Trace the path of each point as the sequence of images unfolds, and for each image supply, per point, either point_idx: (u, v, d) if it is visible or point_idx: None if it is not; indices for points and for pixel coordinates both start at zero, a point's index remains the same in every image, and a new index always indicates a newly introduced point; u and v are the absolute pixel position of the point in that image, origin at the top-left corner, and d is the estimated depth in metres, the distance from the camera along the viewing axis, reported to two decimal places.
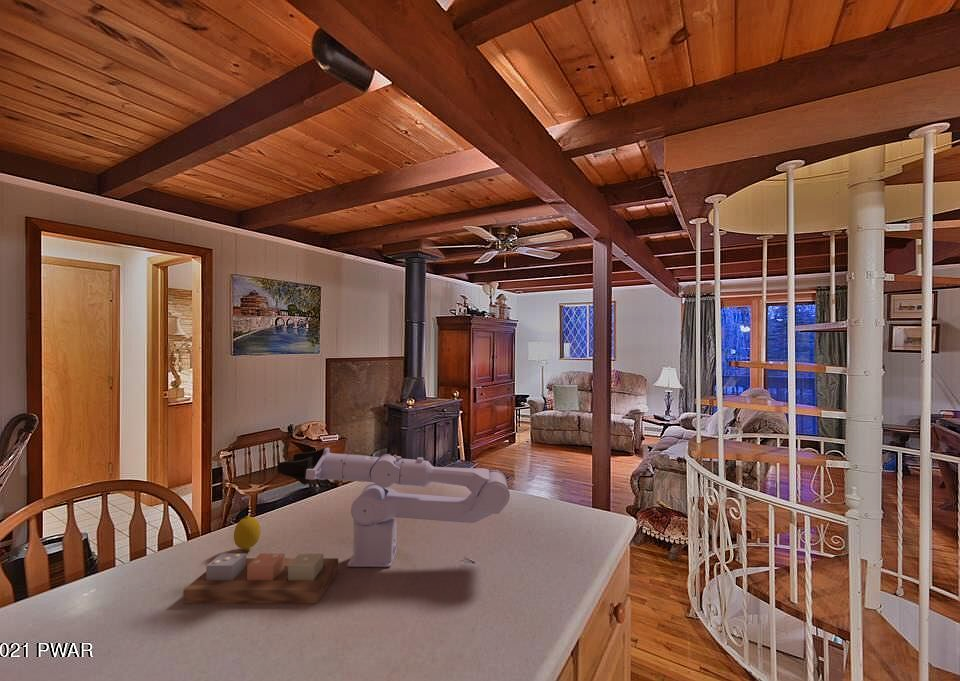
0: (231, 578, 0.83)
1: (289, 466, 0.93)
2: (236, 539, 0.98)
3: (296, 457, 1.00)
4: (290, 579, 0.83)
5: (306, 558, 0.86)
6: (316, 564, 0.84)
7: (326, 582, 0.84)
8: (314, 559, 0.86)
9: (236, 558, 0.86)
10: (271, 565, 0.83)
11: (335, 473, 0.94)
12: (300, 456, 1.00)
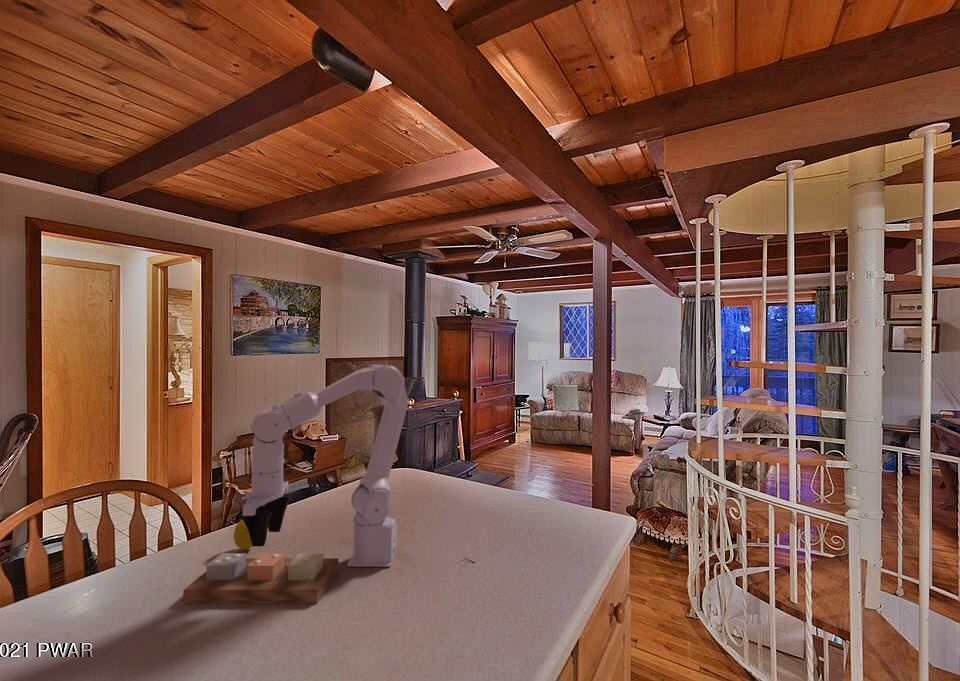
0: (231, 578, 0.83)
1: (254, 533, 0.82)
2: (236, 539, 0.98)
3: (271, 528, 0.89)
4: (290, 579, 0.83)
5: (306, 558, 0.86)
6: (316, 564, 0.84)
7: (326, 582, 0.84)
8: (314, 559, 0.86)
9: (236, 558, 0.86)
10: (271, 565, 0.83)
11: (264, 481, 0.83)
12: (270, 524, 0.89)
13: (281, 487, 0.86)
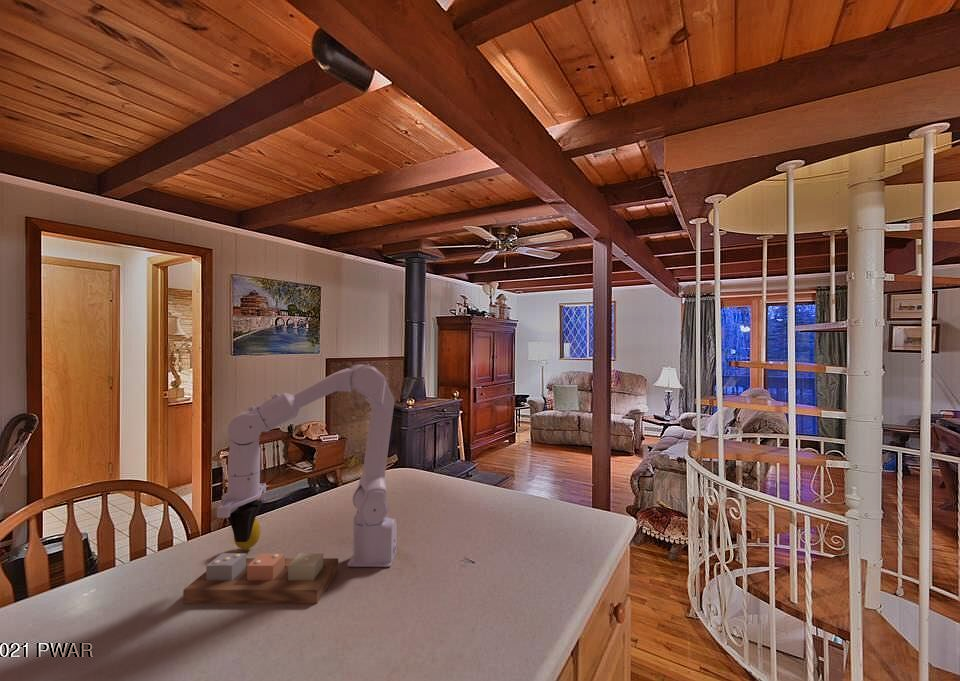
0: (231, 578, 0.83)
1: (237, 529, 0.85)
2: None
3: None
4: (290, 579, 0.83)
5: (306, 558, 0.86)
6: (316, 564, 0.84)
7: (326, 582, 0.84)
8: (314, 559, 0.86)
9: (236, 558, 0.86)
10: (271, 565, 0.83)
11: (239, 483, 0.83)
12: None
13: (257, 489, 0.86)
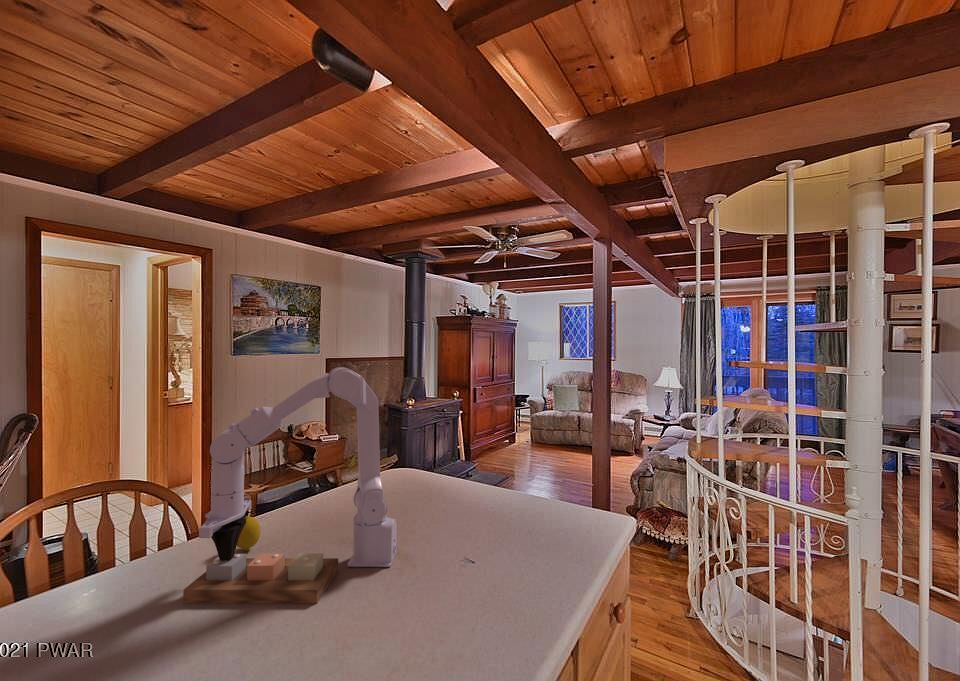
0: (231, 578, 0.83)
1: (221, 548, 0.85)
2: None
3: None
4: (290, 579, 0.83)
5: (306, 558, 0.86)
6: (316, 564, 0.84)
7: (326, 582, 0.84)
8: (314, 559, 0.86)
9: (236, 558, 0.86)
10: (271, 565, 0.83)
11: (222, 502, 0.83)
12: None
13: (241, 508, 0.86)
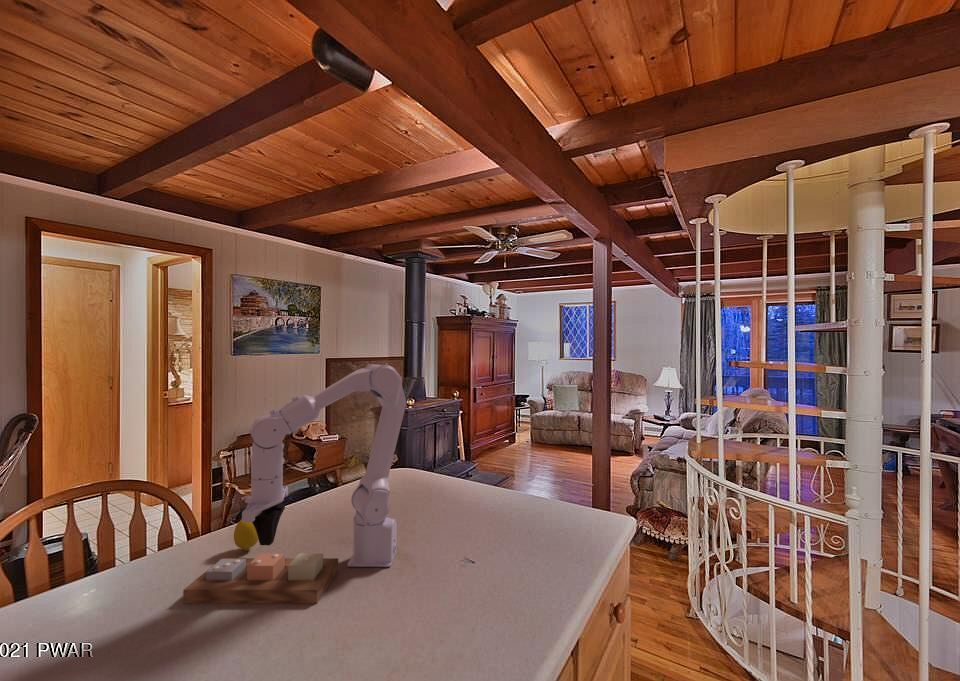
0: None
1: (261, 533, 0.85)
2: (236, 539, 0.98)
3: None
4: (290, 579, 0.83)
5: (306, 558, 0.86)
6: (316, 564, 0.84)
7: (326, 582, 0.84)
8: (314, 559, 0.86)
9: (236, 564, 0.86)
10: (271, 565, 0.83)
11: (263, 487, 0.83)
12: None
13: (280, 493, 0.86)
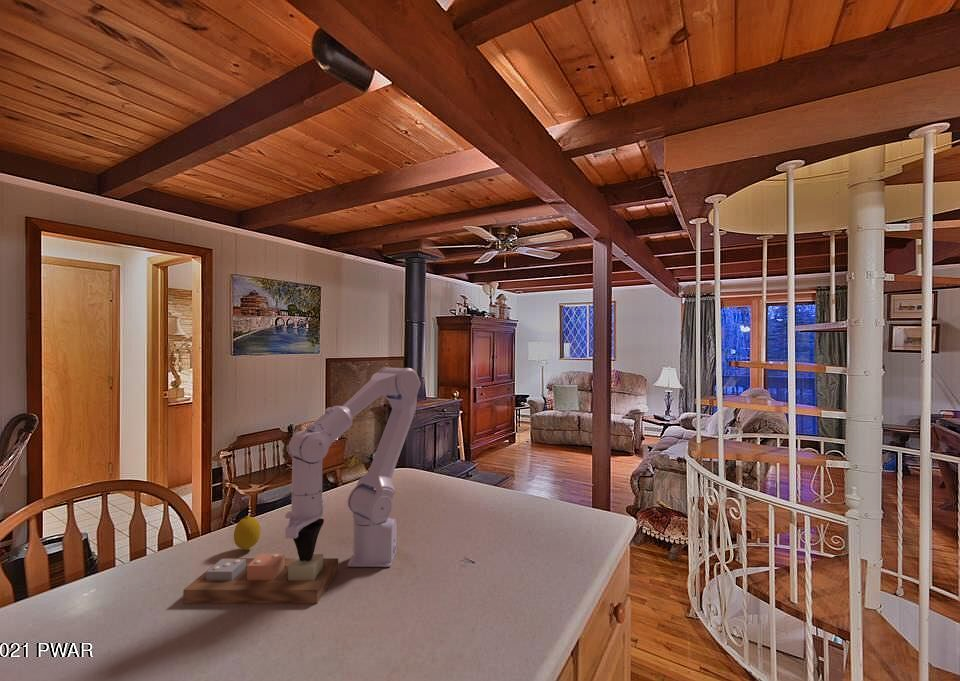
0: None
1: (301, 548, 0.85)
2: (236, 539, 0.98)
3: None
4: (290, 580, 0.83)
5: None
6: (316, 565, 0.84)
7: (326, 582, 0.84)
8: (314, 559, 0.86)
9: (236, 564, 0.86)
10: (271, 565, 0.83)
11: (304, 502, 0.83)
12: None
13: (320, 508, 0.86)
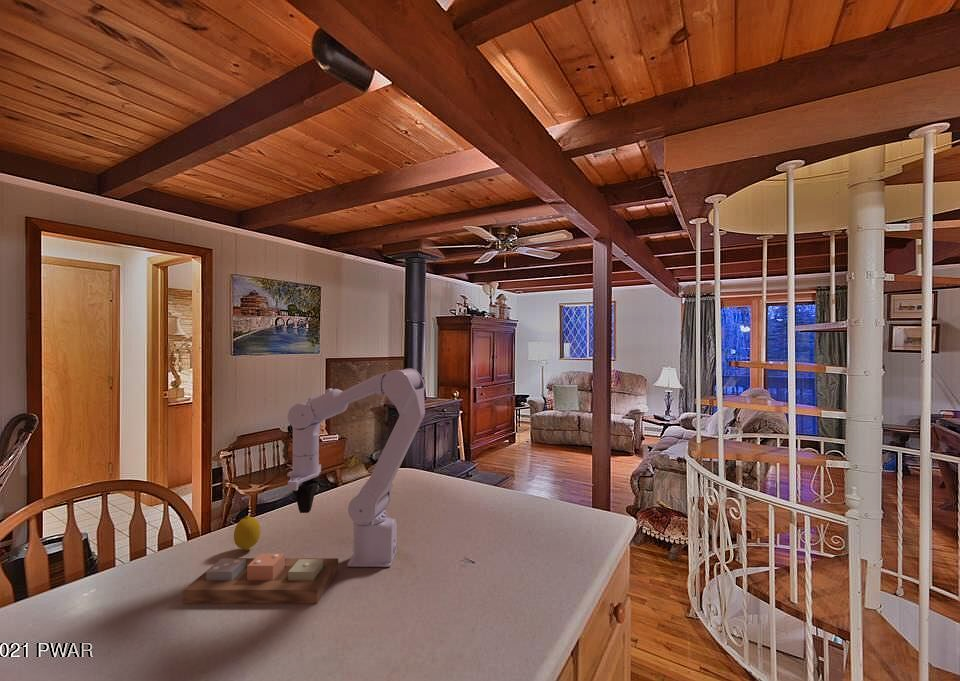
0: None
1: (301, 502, 0.99)
2: (236, 539, 0.98)
3: None
4: None
5: (306, 564, 0.85)
6: (316, 570, 0.84)
7: (326, 582, 0.84)
8: (314, 564, 0.86)
9: (236, 564, 0.86)
10: (271, 565, 0.83)
11: (303, 462, 0.97)
12: None
13: (317, 468, 1.00)
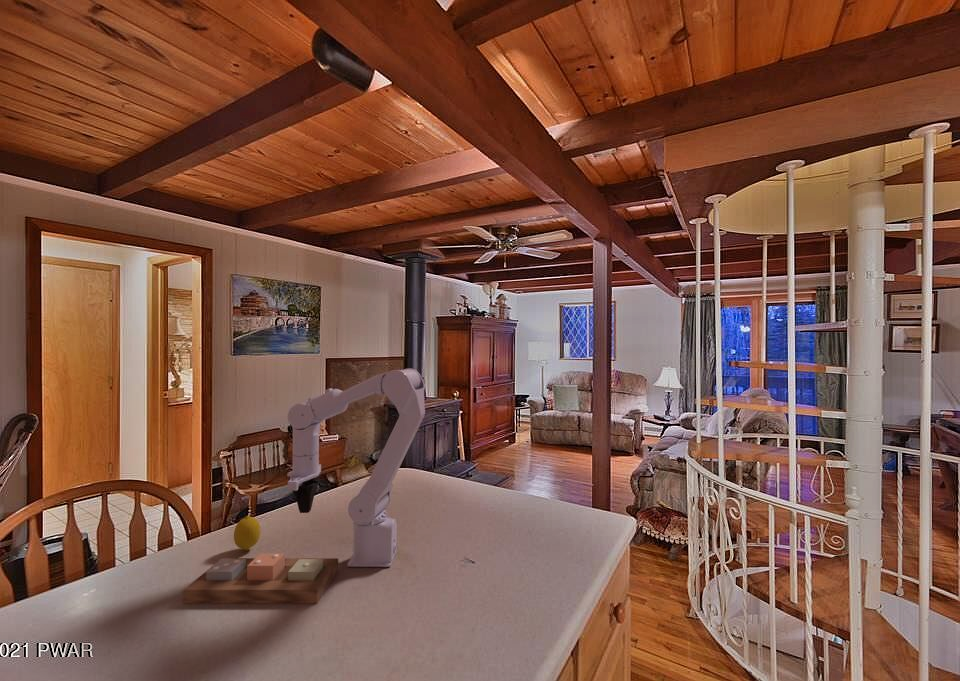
0: None
1: (301, 502, 0.99)
2: (236, 539, 0.98)
3: None
4: None
5: (306, 564, 0.85)
6: (316, 570, 0.84)
7: (326, 582, 0.84)
8: (314, 564, 0.86)
9: (236, 564, 0.86)
10: (271, 565, 0.83)
11: (303, 462, 0.97)
12: None
13: (317, 468, 1.00)
